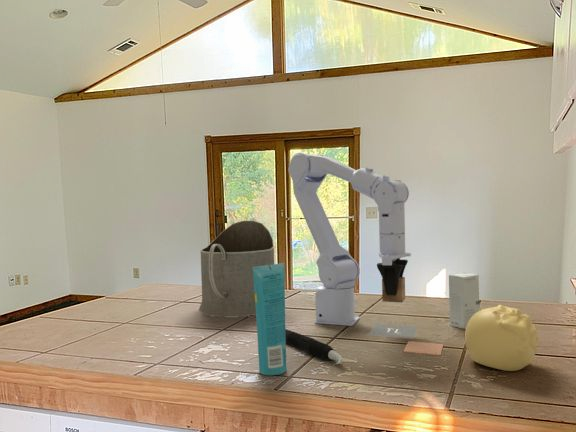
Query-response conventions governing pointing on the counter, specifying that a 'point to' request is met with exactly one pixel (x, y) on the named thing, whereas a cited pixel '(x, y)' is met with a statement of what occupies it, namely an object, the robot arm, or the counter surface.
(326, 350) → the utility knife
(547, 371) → the counter surface
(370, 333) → the tile
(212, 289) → the grey fabric basket
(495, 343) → the sculpture
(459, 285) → the skincare box
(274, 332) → the tube
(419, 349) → the pad
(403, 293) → the walnut block
